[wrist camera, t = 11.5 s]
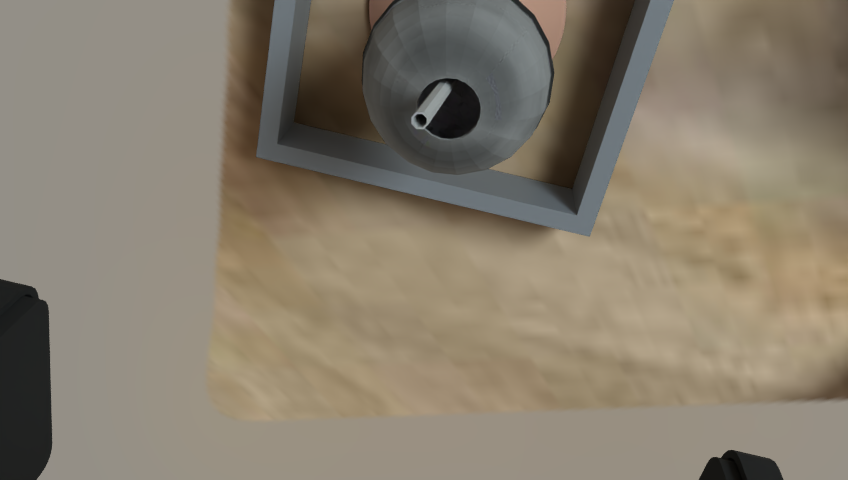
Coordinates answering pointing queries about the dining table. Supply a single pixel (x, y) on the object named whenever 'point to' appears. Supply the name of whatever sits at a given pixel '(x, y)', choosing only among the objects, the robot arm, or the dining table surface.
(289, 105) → the grey square frame
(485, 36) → the beverage cup
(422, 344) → the dining table surface
